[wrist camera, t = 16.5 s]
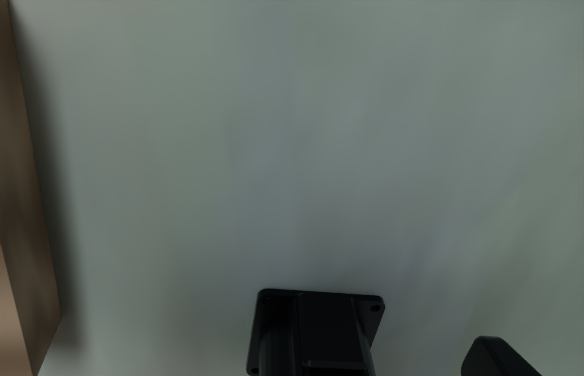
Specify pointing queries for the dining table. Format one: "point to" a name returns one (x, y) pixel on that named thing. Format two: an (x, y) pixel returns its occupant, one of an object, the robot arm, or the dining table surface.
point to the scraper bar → (21, 230)
